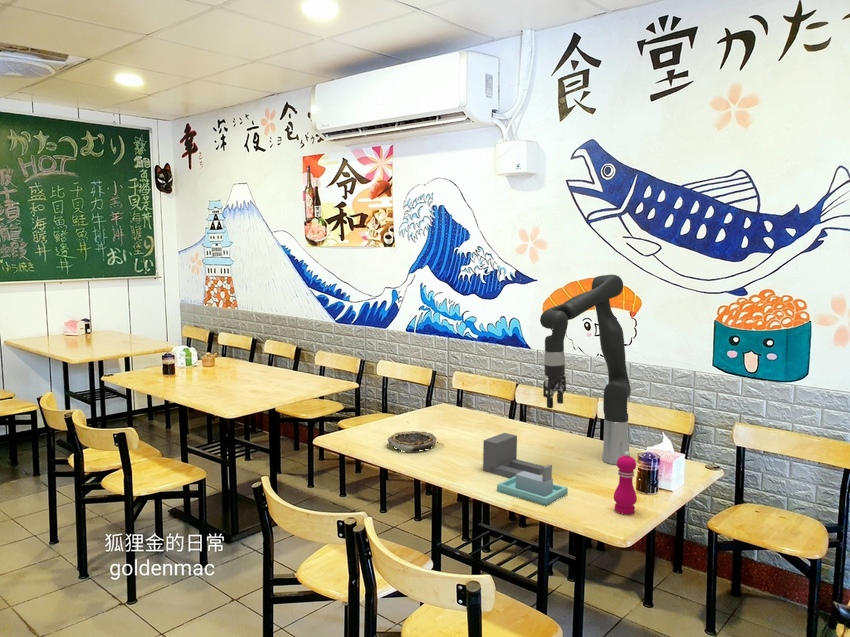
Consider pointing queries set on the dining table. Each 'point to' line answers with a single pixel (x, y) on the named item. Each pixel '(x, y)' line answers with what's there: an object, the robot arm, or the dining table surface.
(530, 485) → the grey block with peg
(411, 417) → the dining table surface
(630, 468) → the pepper mill
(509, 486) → the tray
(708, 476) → the dining table surface
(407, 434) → the pie
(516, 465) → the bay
